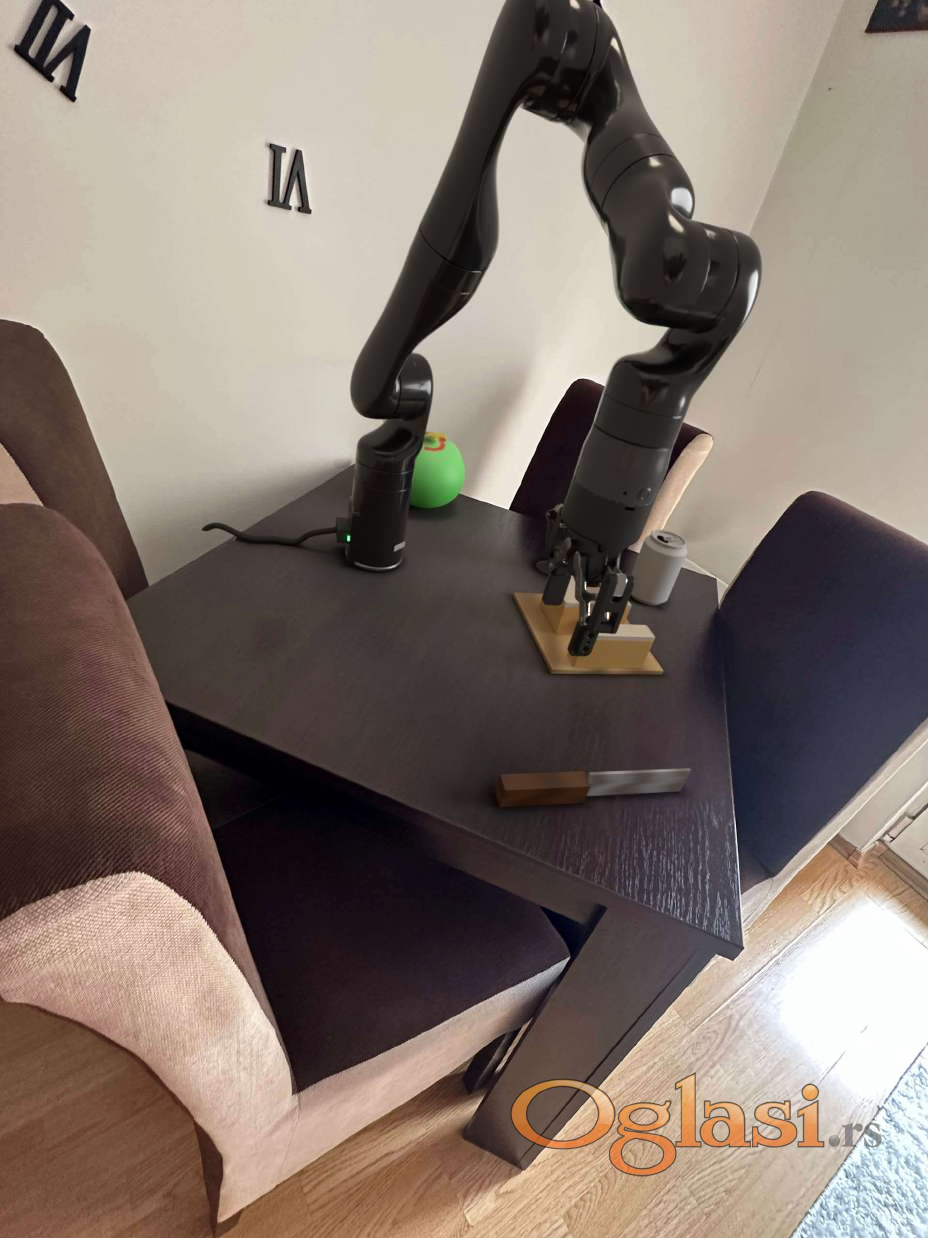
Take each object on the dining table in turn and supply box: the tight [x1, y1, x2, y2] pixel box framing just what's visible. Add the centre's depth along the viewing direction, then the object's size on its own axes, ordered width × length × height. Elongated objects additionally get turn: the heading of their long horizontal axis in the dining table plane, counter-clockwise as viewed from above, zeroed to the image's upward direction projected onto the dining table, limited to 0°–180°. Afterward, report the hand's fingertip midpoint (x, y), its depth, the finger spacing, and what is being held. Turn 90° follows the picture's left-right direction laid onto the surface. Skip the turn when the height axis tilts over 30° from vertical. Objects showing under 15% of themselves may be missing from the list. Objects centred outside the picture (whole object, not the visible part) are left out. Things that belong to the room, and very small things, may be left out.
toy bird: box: [382, 420, 466, 509], centre depth 128 cm, size 18×17×15 cm
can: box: [630, 528, 688, 606], centre depth 113 cm, size 8×8×12 cm
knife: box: [494, 767, 692, 808], centre depth 73 cm, size 23×2×4 cm, turn 103°
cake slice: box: [567, 623, 656, 668], centre depth 94 cm, size 11×3×6 cm, turn 102°
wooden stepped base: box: [512, 575, 664, 676], centre depth 100 cm, size 18×20×7 cm
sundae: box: [535, 498, 566, 576], centre depth 114 cm, size 7×7×15 cm
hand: (563, 627), depth 67 cm, fingers open, 8 cm apart
